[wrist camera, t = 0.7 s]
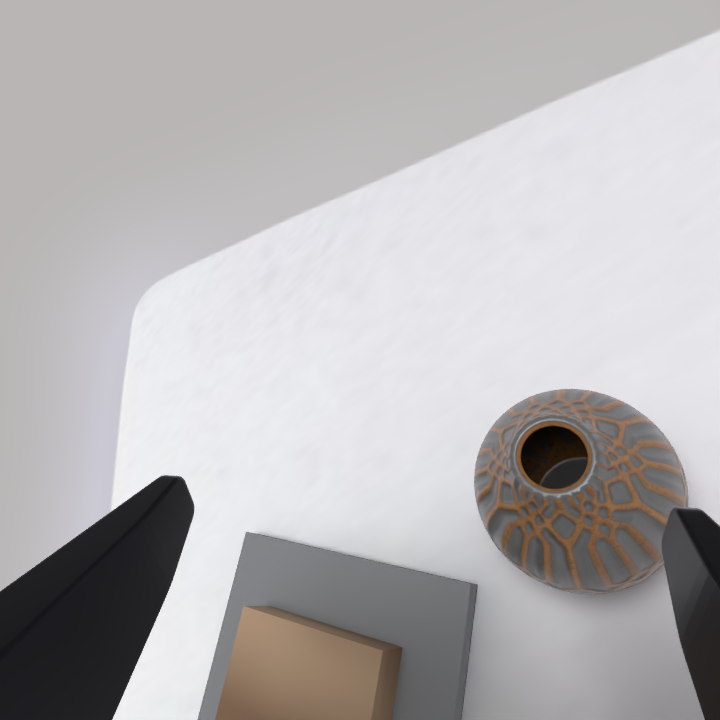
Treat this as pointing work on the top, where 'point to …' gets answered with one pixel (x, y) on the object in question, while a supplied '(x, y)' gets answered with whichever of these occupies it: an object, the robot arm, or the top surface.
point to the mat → (359, 617)
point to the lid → (306, 671)
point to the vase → (578, 490)
